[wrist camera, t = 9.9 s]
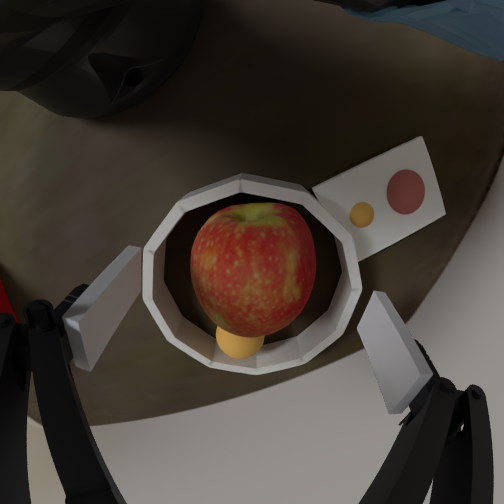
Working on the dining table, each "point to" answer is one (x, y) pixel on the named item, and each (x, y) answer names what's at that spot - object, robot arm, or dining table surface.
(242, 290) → the apple
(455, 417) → the robot arm
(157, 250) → the ring
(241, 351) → the orange egg
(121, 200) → the dining table surface
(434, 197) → the card
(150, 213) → the dining table surface
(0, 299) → the puzzle toy
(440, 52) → the dining table surface
